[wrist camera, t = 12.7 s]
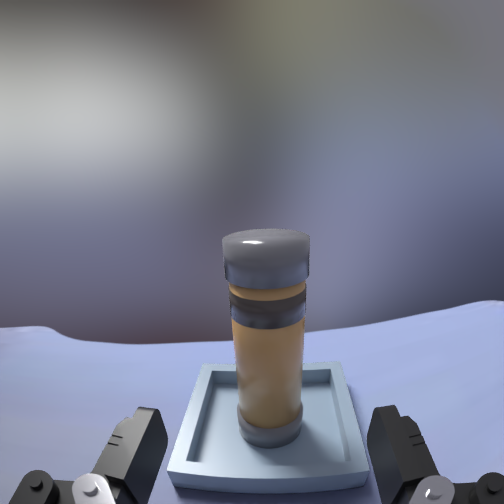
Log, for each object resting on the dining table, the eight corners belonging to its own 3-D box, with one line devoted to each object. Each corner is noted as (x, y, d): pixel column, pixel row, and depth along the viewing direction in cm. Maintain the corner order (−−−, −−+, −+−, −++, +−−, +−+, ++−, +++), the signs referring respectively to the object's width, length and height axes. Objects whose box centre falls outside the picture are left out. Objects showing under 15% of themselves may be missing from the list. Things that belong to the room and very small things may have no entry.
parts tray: (173, 486, 15) (166, 470, 15) (205, 380, 27) (202, 363, 26) (363, 486, 14) (369, 470, 14) (337, 378, 26) (340, 361, 25)
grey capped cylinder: (235, 447, 18) (215, 250, 15) (241, 405, 23) (228, 229, 19) (303, 447, 18) (314, 247, 14) (300, 405, 23) (305, 227, 19)
